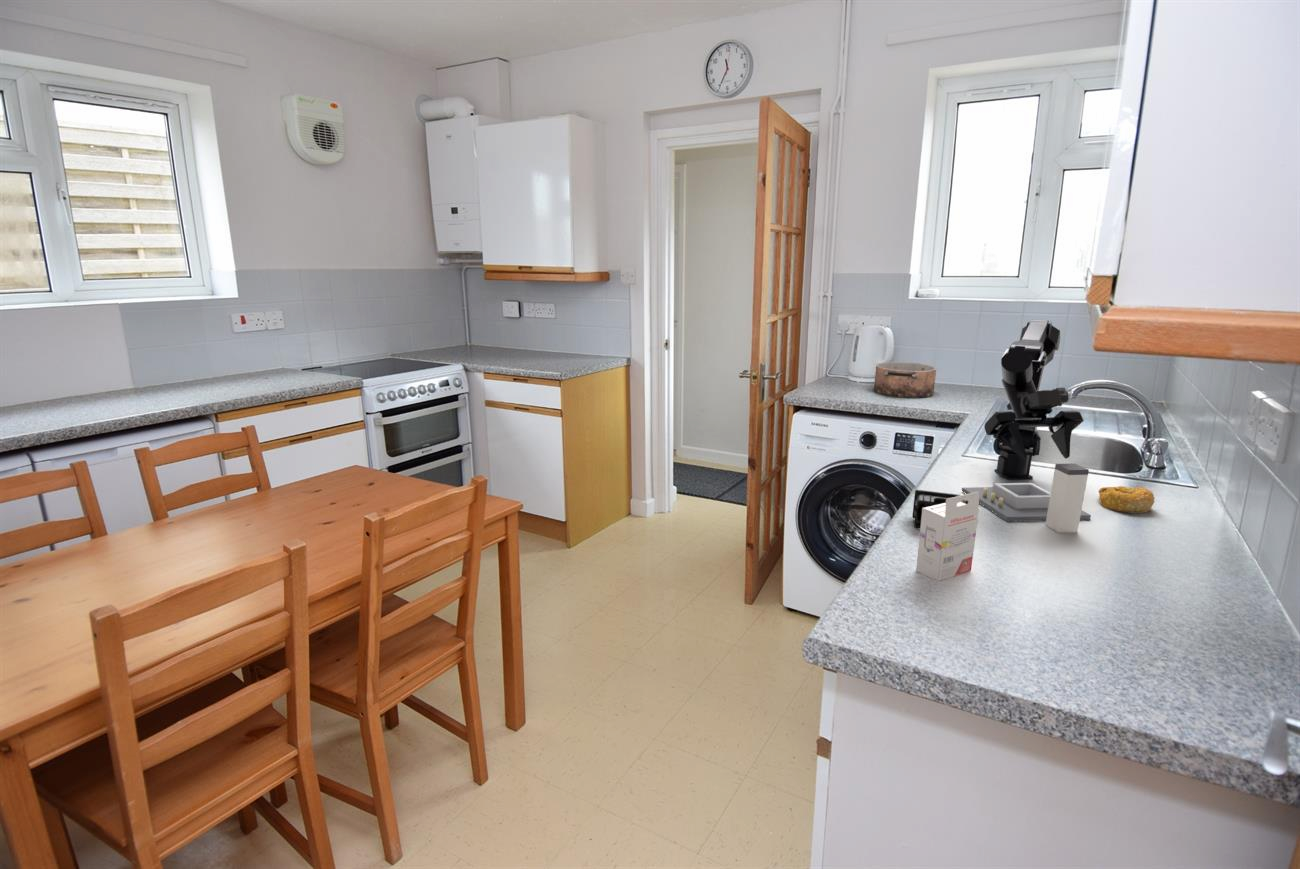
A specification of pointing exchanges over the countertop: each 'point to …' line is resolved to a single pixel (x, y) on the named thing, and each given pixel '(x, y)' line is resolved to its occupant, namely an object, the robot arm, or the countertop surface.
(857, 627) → the countertop surface
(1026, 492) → the header dock
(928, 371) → the cooking pot
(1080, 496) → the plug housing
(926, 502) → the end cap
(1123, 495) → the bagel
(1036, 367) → the robot arm
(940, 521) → the ink cartridge box
